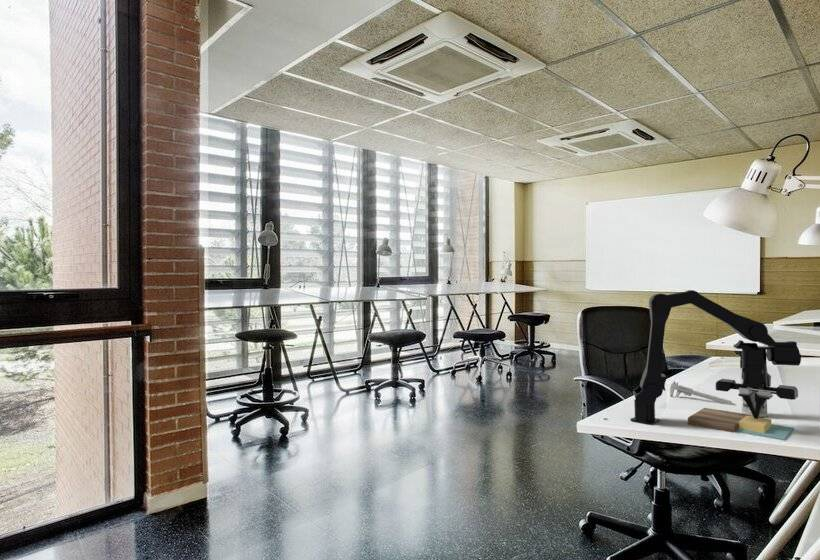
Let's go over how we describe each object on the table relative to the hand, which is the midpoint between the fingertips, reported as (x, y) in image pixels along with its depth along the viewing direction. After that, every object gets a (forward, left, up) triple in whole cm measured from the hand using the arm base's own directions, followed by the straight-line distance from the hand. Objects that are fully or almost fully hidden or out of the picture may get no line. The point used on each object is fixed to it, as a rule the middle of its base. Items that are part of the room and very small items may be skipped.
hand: (756, 418), depth 137 cm
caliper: (+27, +22, -4) cm, 35 cm away
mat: (0, -2, -3) cm, 4 cm away
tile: (0, 0, -3) cm, 3 cm away
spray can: (+17, +4, -3) cm, 18 cm away
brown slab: (0, +10, -3) cm, 10 cm away
